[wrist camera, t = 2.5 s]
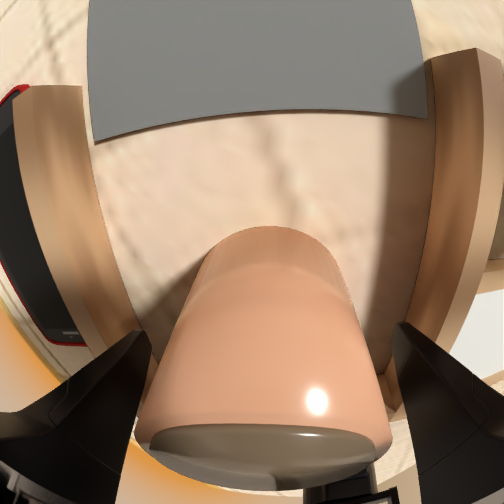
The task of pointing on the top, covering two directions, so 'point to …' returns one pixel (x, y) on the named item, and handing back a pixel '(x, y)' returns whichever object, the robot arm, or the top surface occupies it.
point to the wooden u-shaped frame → (436, 243)
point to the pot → (266, 372)
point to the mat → (249, 59)
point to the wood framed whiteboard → (484, 328)
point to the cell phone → (27, 243)
